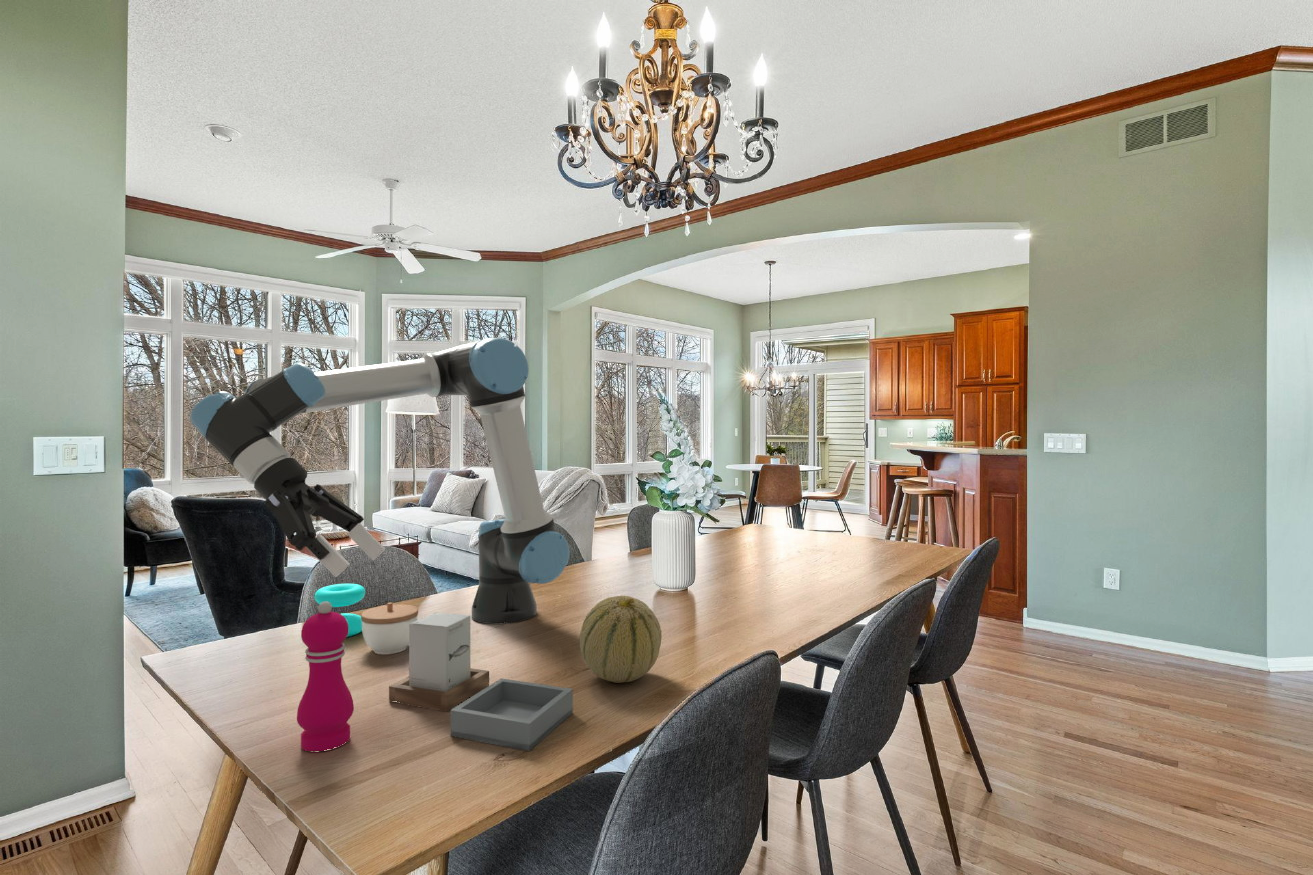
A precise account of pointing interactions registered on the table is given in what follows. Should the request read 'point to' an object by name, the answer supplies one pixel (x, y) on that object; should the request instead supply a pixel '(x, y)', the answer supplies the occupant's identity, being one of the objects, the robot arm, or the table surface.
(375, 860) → the table surface
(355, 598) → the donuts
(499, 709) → the slate tray
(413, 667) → the supplement box
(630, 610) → the cantaloupe
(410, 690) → the walnut collar
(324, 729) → the pepper mill
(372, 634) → the lidded jar
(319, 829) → the table surface
